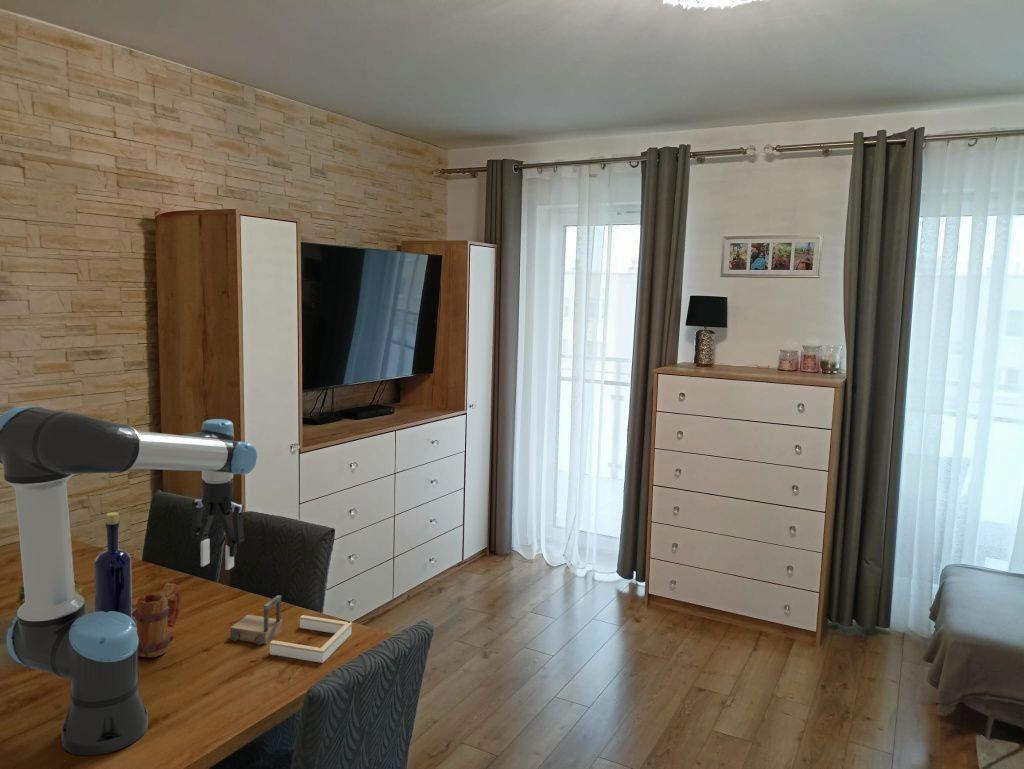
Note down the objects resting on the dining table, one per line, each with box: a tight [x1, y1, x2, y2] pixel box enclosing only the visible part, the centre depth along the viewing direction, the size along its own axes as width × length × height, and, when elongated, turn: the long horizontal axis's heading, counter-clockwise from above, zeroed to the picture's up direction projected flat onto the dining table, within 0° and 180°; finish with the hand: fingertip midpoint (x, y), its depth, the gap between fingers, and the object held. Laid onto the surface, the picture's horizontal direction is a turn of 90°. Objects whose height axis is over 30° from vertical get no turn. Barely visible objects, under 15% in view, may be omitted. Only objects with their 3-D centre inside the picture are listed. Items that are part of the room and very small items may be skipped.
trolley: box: [230, 595, 283, 646], centre depth 193 cm, size 10×10×10 cm
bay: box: [269, 614, 353, 664], centre depth 190 cm, size 17×14×3 cm
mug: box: [132, 582, 182, 658], centre depth 183 cm, size 15×8×15 cm, turn 168°
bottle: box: [93, 511, 133, 619], centre depth 193 cm, size 9×9×30 cm
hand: (217, 566), depth 194 cm, fingers open, 6 cm apart
